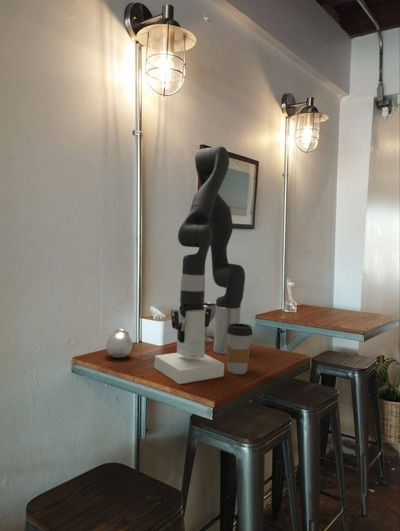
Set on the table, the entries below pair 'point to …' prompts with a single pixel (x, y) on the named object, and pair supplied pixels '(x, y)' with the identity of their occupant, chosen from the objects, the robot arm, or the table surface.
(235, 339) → the coffee cup
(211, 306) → the wine glass
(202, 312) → the skincare box
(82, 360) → the table surface
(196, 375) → the block
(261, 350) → the table surface
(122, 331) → the silver egg shape
